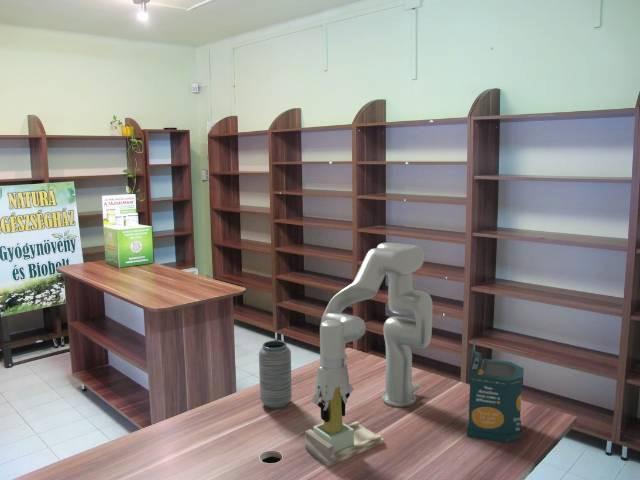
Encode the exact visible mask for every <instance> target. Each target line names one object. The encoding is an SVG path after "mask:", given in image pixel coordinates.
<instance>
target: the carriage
mask: <svg viewBox="0 0 640 480" xmlns="http://www.w3.org/2000/svg"><path fill="white" fill-rule="evenodd" d="M348 425H349V424H346V423H345V422H343V430H342V431H340V432H338V433H328V432H326V431H325V430H324V429H323V426H324V422H321V423H318V424H317V425H314V426H312V431H314V432H315V433H316V434H318V435H319V436H321V437H322V438H324V439H325V440H326V441H328V442H329V443H331V444H332V445H334V454H335V453H337V452H339V451H342V450H344V449H347V448H349V447H351V446H354V429H353V428H351V427H349V426H348Z"/></svg>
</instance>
